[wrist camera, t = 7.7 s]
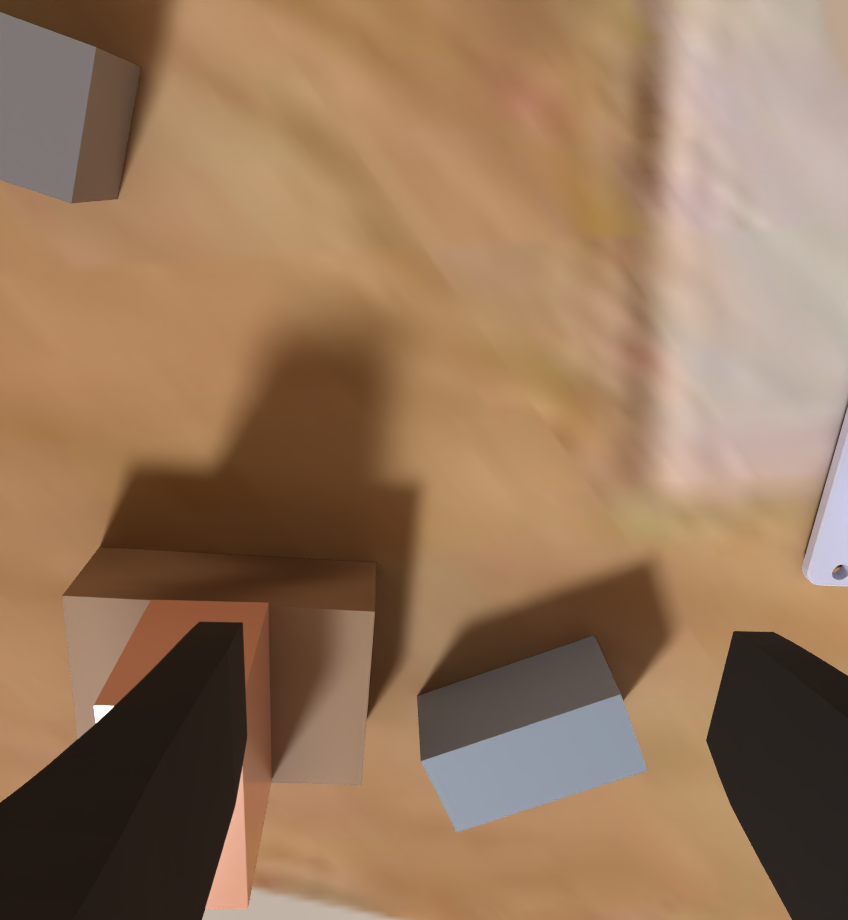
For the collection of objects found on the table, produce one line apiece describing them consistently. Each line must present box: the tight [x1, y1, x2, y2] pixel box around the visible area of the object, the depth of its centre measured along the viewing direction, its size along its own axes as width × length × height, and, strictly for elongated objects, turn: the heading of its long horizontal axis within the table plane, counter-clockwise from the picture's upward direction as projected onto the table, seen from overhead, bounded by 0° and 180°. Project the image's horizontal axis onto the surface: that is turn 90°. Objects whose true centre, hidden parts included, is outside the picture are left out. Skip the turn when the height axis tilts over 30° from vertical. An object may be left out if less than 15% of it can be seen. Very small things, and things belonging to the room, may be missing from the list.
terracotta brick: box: [93, 600, 272, 909], centre depth 18 cm, size 3×6×4 cm, turn 176°
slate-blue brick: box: [417, 635, 647, 832], centre depth 23 cm, size 6×3×3 cm, turn 111°
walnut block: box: [62, 547, 376, 786], centre depth 21 cm, size 8×6×3 cm
